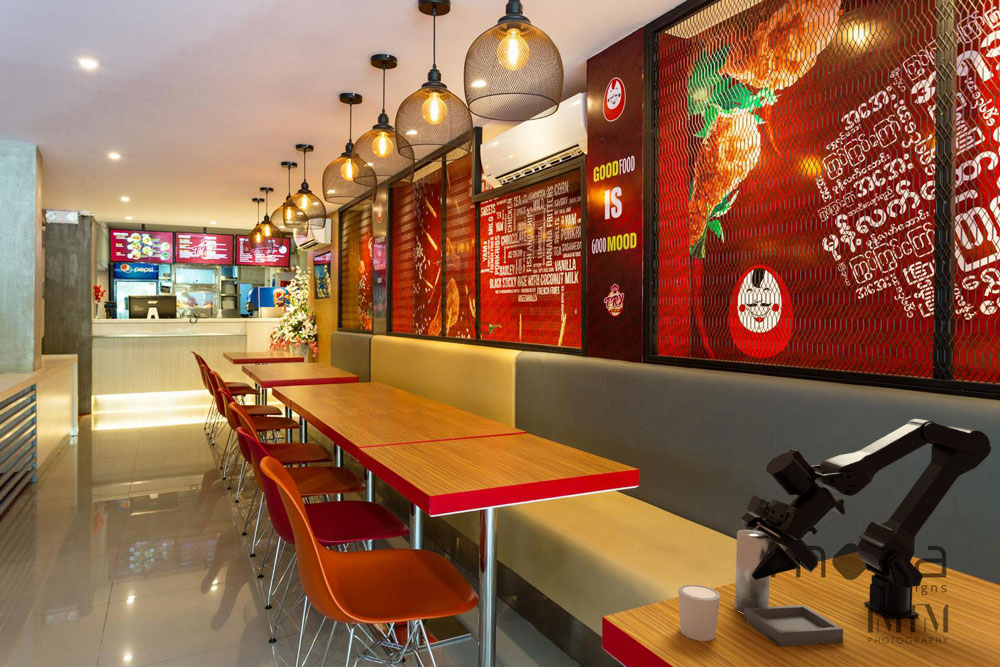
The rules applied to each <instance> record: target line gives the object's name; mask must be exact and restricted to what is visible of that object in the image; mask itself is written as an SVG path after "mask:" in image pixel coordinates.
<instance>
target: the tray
mask: <svg viewBox="0 0 1000 667" xmlns="http://www.w3.org/2000/svg"><path fill="white" fill-rule="evenodd" d="M743 615H744V616H743V618H744V620H745V621H744V622H746V623H747V622H748V623H749V624H748V623H747V624H748V625H749V626H751V625H752V626H753V627H752V626H751V627H752V628H754V629H755V630H756V629H757V630H756V631H758V632H759V633H760V634H762V636H764V637H765V638H766V639H768V640H770V641H771V642H772V643H774V644H775V645H776V646H778V647H788V646H791V645H793V646H806V645H805V644H807V645H818V643H822V644H833V643H834V644H835V643H836V642H837V643H844V628H842V627H841V626H839V625H838V624H837V623H834V622H833V621H831V620H830V619H828V618H826V617H825V616H823V615H821V614H820V613H818V612H816V611H815V610H813V609H812V608H810V607H808V606H807V605H805V604H798V605H797V604H796V605H795V604H794V605H779V606H777V605H776V606H775V605H774V606H769V607H755V608H745V610H744V614H743ZM837 643H836V644H837ZM802 644H803V645H802Z"/></svg>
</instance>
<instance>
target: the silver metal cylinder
mask: <svg viewBox="0 0 1000 667" xmlns="http://www.w3.org/2000/svg"><path fill="white" fill-rule="evenodd" d="M770 542H771V536H770V535H769V534H767V533H764V532H760V531H755V530H747V529H740V530H738V531H737V532H736V556H735V557H736V559H735V585H734V586H735V588H734V589H735V590H734V609H735V610H736V611H737V610H738V611H740V612H742V613H744V610H745V608H755V607H770V606H769V603H770V576H768V577H764V578H761V579H758V580H755V579H754V578H753V577H752V573H753V572H754V571H755V569H756V568H757V567H758V565H759V564H760V563H761V562H762V560H763V559H764V558H765V557H766V556H767V554H768V553H769V552H770ZM738 611H737V612H738ZM740 612H739V613H740ZM742 613H741V614H742Z"/></svg>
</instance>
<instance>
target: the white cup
mask: <svg viewBox="0 0 1000 667" xmlns="http://www.w3.org/2000/svg"><path fill="white" fill-rule="evenodd" d="M677 591H678V592H677V594H678V609H679V611H678V612H679V627H680V633H681V634H682V635H683V636H685V637H686V638H688V639H691V640H695V641H698V642H699V641H700V642H702V641H703V642H708V641H712V640H714V639H715V638H716V633H717V632H716V631H717V626H718V625H717V623H718V618H719V609H720V603H721V602H720V601H721V593H720V592H719V591H717V590H715V589H714V588H712V587H708V586H705V585H699V584H686V585H685V584H684V585H681V586H679V588H678V590H677Z"/></svg>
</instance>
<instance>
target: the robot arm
mask: <svg viewBox="0 0 1000 667" xmlns="http://www.w3.org/2000/svg"><path fill="white" fill-rule="evenodd" d="M927 444H929V445H931V450H930V451H931V453H930V454H931V458H930V462H929V464H928V465H927V466H926V468H925V469H924V471H923V472H922V473H921V475H920V476H919V478H918V479H917V480H916V481H915V483H914V485H913V486H912V487H911V488H910V490H909V491H908V493H907V494H906V495H905V497H904V498H903V500H902V501H901V502H900V503H899V505H898V506H897V507H896V509H895V510H894V512H893V513H892V514H891V516H890V517H889V519H888V520H886V521H884V522H882V523H877V522H875V521H871V522H870V523H869V524H868V525H867V527H866V529H865V531H864V532H863V533H862V534H860V535H859V536H858V538H859V539H860V540H859V542H858V544H857V547H856V548H857V550H858V555H859V557H860V559H861V560H862V561H863V564H864V567H865V569H866V570H867V571H868V572H871V573H872V575H871V579H870V580H871V583H870V584H869V598H868V599H869V600H868V601H864V602H863V604H864V606H866V607H869V608H870V609H872V610H874V611H875V612H878V613H879V614H881V615H882V616H884V617H885V616H886V618H889V619H902V618H904V619H905V618H917V617H919V616H920V614H919V612H917V611H914V610H913V587H920V586H921V583H922V580H923V578H924V575H923V574H922V573H921V572H920V570H918V568H917V567H916V566H915V565H914V564H913V563H912V562H911V561H912V559H913V557H914V556H915V542H916V541H915V540H916V539H915V538H916V537H917V535H918V534H919V533H920V531H921V529H922V528H923V527H924V525H925V524H926V523H927V521H928V520H929V518H931V515H932V514H933V513H934V511H935V510H936V509H937V508H938V505H939V504H940V503H942V500H943V499H944V498H945V496H946V495H947V494H948V492H949V491H950V489H951V488H952V486H953V485H954V484H955V483H956V481H957V479H958V478H959V477H961V476H962V475H964V474H966V473H968V472H971V471H973V470H974V469H977V467H979V466H980V465H981V464H982V463H983V462H984V461H985V460H986V459H987V458H988V457H989V455H990V453H991V451H992V446H991V442H990V438H989V436H988V435H987V434H986V433H984V432H983V431H981V430H975V429H971V428H965V427H958V426H953V425H951V426H945V425H942V424H939V423H936V422H934V421H933V420H928V419H922V418H913V419H911V420H909V421H907V422H906V423H905V425H903V426H901V427H899V428H897V429H896V430H894V431H892V432H890V433H888V434H887V435H885V436H883V437H881V438H879V439H878V440H876V441H874V442H873V443H870V444H869V445H867V446H865V447H863V448H862V449H860V450H858V451H854V452H850V453H845V454H838V455H837V456H833V457H831V458H828V459H826V460H824V461H822V462H821V463H820V464H815V465H810V464H809V463H808V462H807V461H806V459H805V458H804V456H803V455H802V453H801V452H800V451H799V450H797V449H793V448H791V449H790V450H788V452H784V453H781V454H779V455H778V456H776V457H773V458H772V459H771V460H770V461H769V462H768V464H767V466H766V467H765V468H766V469H765V472H767V474H768V476H770V477H771V478H772V480H773V481H775V483H777V485H778V486H779V487H780V488H781V489H782V491H783V492H785V494H786V495H788V496H795V497H794V499H793V500H791V501H790V502H789V503H786V502H781V501H780V500H777V499H773V500H771V501H770V502H769V501H768V500H766V499H764V498H762V497H760V496H758V495H756V494H752V496H751V498H750V499H749V502H748V503H747V506H746V510H747V511H749V512H746V513H745V514H744V515H743V516H742V517H741V518H740V520H741V522H742V523H743V524H744V525H745V527H744V528H745V530H755V531H760V532H764V533H767V534H769V535H770V536H771V542H770V552H769V553H768V554H767V556H766V557H765V558H764V559H763V560H762V562H761V563H760V564H759V565H758V567H757V568H756V569H755V571H754V572H753V573H752V577H753V578H754V579H755V580H758V579H761V578H764V577H768V576H769V577H770V576H774V575H776V574H780V573H785V572H789V571H793V570H800V569H801V567H802V568H803V569H804V570H806V571H808V572H809V573H812V572H813V571H815V569H816V568H818V566H819V557H818V555H816V553H815V552H814V551H813V550H812V548H810V547H809V546H808V544H806V542H805V541H804V539H805V537H807V536H808V534H811V535H813V536H815V535H816V534H817V533H818V532H819V531H818V530H817V529H816V527H817V526H818V524H820V523H821V522H822V521H823V519H824V518H826V517H827V515H828V514H829V513H830V512H831V511H832V512H835V513H837V514H839V515H841V516H843V515H845V514H846V509H845V505H844V504H845V500H844V499H842V498H840V497H837V496H835V495H834V494H833V493H832V492H831V491H833V492H837V493H839V494H842V495H844V496H848V497H850V496H855V495H858V494H859V493H860V492H861V491H862V490H864V489H865V488H866V487H867V486H868V485H870V484H871V482H872V481H873V479H874V477H875V475H877V473H879V472H880V471H882V470H883V469H885V468H887V467H888V466H891V465H893V464H894V463H895V462H898V461H900V460H901V459H902V458H904V457H906V456H908V455H909V454H912V453H913V452H915V451H916V450H920V448H922V447H923V446H926V445H927ZM817 482H818V483H817ZM819 483H820V484H821V485H822V486H820V485H819ZM830 490H831V491H830ZM799 565H800V566H801V567H800V566H799Z"/></svg>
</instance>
